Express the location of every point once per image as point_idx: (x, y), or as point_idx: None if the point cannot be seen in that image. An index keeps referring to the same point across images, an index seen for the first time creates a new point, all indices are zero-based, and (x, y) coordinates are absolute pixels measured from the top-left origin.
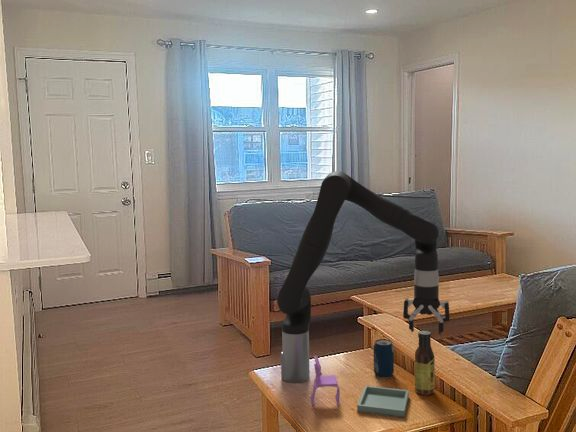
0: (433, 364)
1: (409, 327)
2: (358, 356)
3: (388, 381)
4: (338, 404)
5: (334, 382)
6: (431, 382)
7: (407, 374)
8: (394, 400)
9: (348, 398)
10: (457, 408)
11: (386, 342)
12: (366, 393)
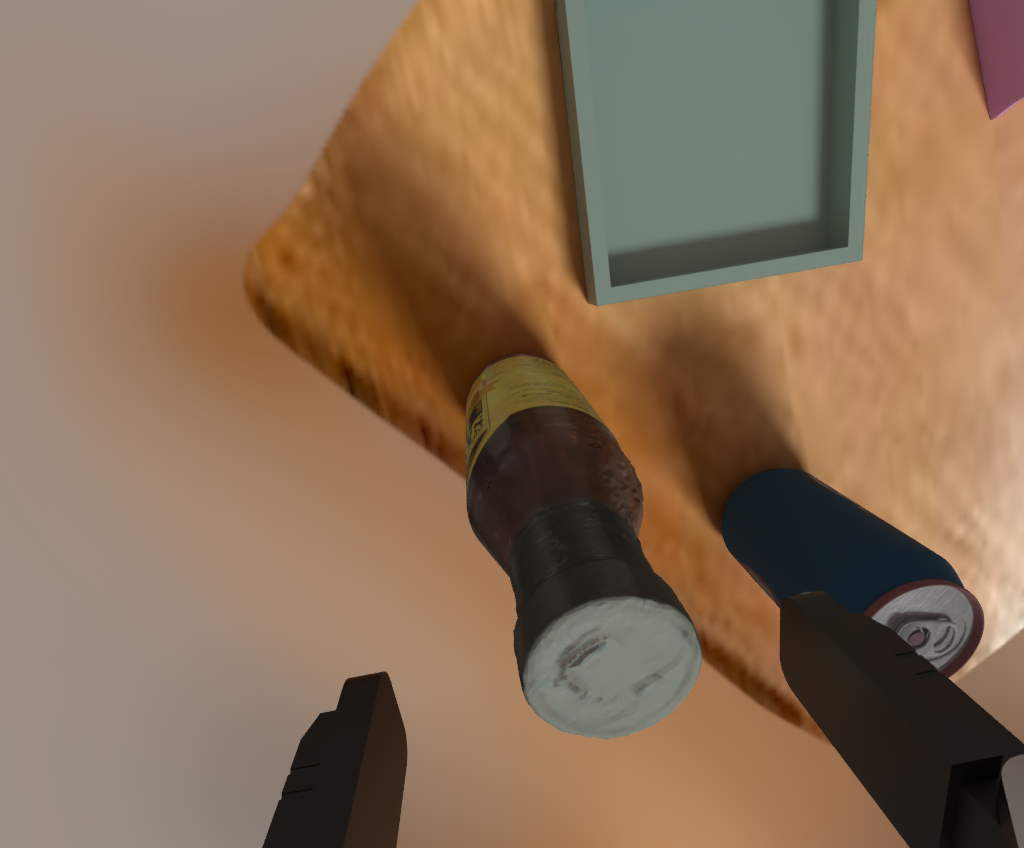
0: (468, 460)
1: (896, 641)
2: None
3: (727, 445)
4: None
5: None
6: (475, 394)
7: None
8: (655, 199)
9: (917, 132)
10: (300, 275)
11: None
12: (827, 223)
